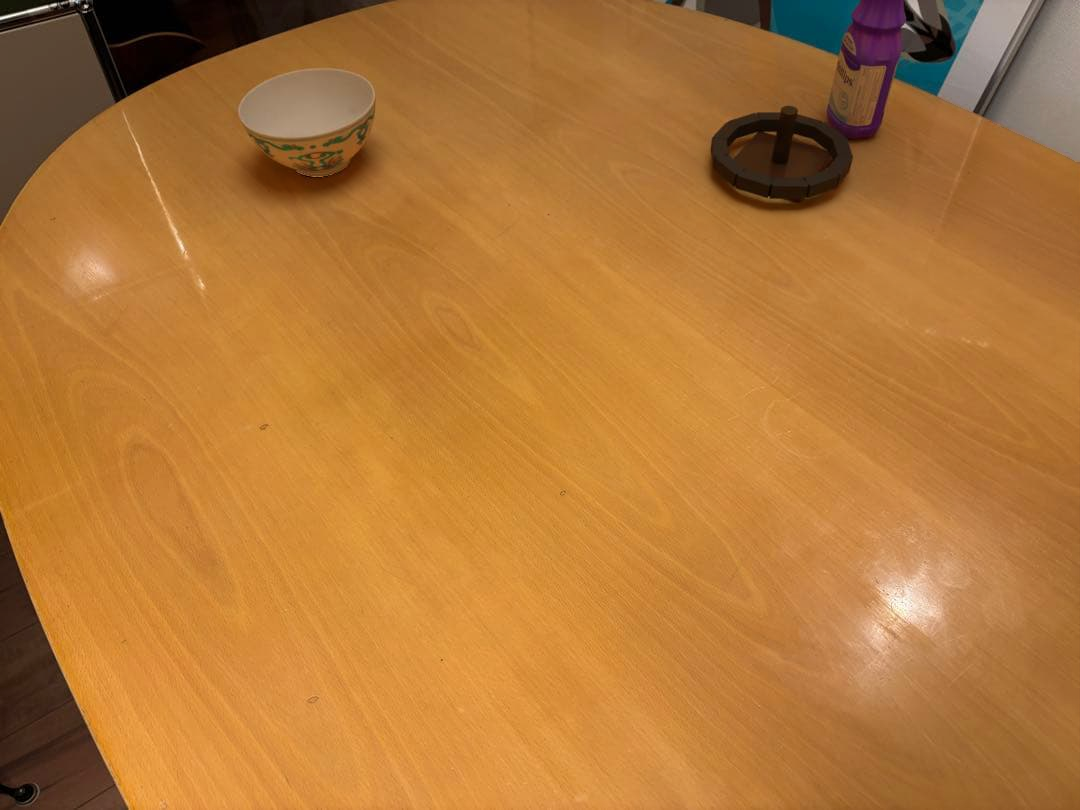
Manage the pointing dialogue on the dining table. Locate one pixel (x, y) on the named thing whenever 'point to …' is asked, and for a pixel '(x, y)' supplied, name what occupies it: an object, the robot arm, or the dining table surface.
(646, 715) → the dining table surface
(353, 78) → the chinaware
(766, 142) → the brown peg stand
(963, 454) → the dining table surface
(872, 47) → the bottle
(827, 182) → the ring
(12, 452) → the dining table surface
